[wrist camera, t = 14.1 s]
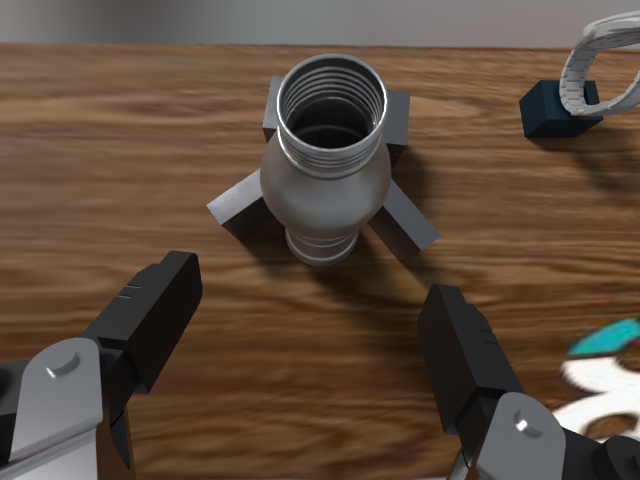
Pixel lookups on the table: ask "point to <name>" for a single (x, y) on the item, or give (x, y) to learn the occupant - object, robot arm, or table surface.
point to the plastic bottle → (327, 156)
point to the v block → (389, 222)
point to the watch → (581, 84)
